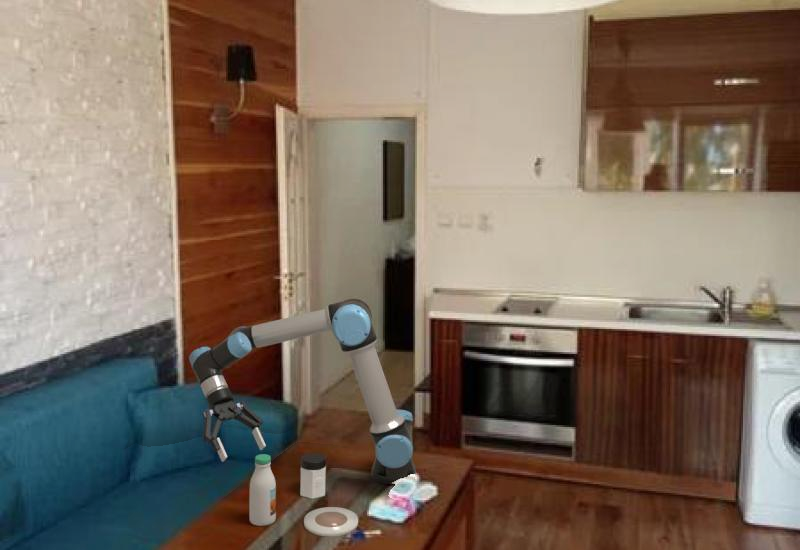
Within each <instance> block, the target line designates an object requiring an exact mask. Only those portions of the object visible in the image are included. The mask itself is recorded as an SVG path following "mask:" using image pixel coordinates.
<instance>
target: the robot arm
mask: <svg viewBox="0 0 800 550" xmlns="http://www.w3.org/2000/svg"><path fill="white" fill-rule="evenodd" d="M372 319H373V316H372V311H371V308H370V306H369V305H368V304H367V303H366V302H365V301H363V300H361V299H359V298H348V299H347V298H346V299H345V300H344V299H343V300H342V301H338V302H334V303H332V304H327V305H326V307H325V308H323V309H319V310H315V311H310V312H305V313H302V314H297V315H293V316H290V317H286V318H285V317H284V318H281V319H277V320H272V321H267V322H263V323H260V324H259V323H258V324H254V325H252V326H239V327H237V328H234V330H232V331H231V333H230V334H229V335H228V336H227V337H226V338H225V339H224V340H223V341H221V342H220V343H219V344H217V345H216V346H214V347H213V348H211V347H210V346H201V347H199V348H196V349H194V350H193V351H192V352H191V353H190V354H189V357H188V358H189V359H188V360H189V363H190V365H191V369H192V371H193V372H194V375H195V378H196V379H197V382H198V383H199V386H200V388H201V390H202V393H203V395H204V397H205V398H206V402H207V405H208V406H209V408H210V409H209V408H206V409H205V410H204V412H203V413H202V416H203V419H204V422H203V432H202V433H203V434H202V435H203V437H202V441H203V442H204V443H206V442H207V443H209V444H211V446H212V448H213V451H215V452H217V454H218V456H219V458H220V461H221V462H224V461H226V459H227V458H228V455H227V452H226V450H225V447H224V445H223V443H222V441H221V439H220V437H217V436H218V433H219V430H220V427H221V424H222V422H226V421H232V420H236V421H238V422H240V423H242V424H243V425H245V426H246V427H248V428H250V429H251V430H252V431H251V432H252V435H253V438H254V440H255V442H256V443H257V447H258V448H259V450H260V451H262V450H264V449H265V447H267V445H266V443H265V441H264V438H263V437H264V433H263V432H262V429H261V426H262V425H263V424H264V420H263V419H261V417H260V416H258V415H257V414H256V413H255V412H254V411H253V410H252V409H251V408H249V406H247V404H246V402H245V401H244V400H241V401H240V402H238V403H236V402H235V401H234V397H233V394H232V392H231V390H230V389H229V386H228V384H227V382H226V379H225V376H224V375H223V373H222V371H223V370H225V369H226V368H228V367H230V366H231V365H233V364H234V363H236V362H238V361H239V360H240V359H243V358H244V357H245V356H247V355H248V354H249V353H250V352H251V351H252V350H254V349H258V348H263V347H268V346H272V345H276V344H280V343H285V342H289V341H293V340H298V339H302V338H306V337H310V336H315V335H320V334H324V333H328V332H332V333H333V335H334V338H335V339H336V340H337V342H338V344H339V345H340V348H341V351H342V353H344V354H347V356H348V357H349V360H350V362H351V365H352V369H353V372H354V374H355V378H356V380H357V383H358V386H359V388H360V392H361V394H362V398H363V399H364V400H363V401H364V403H365V407H366V408H367V412H368V415H369V417H370V422H371V426H370V427H369V431H370V435H371V438H372V441H373V444H374V447H375V449H374V450H375V451H374V453H375V457H374V461H373V463H372V467H371V472H370V474H371V475H370V476H371V478H372V480H374V481H375V482H376V483H379V484H383V485H387V484H391V483H392V482H394V481H396V480H398V479H400V478H404V477H407V476H408V475H410V474H416V467H415V463H414V460H413V457H412V456H413V453H414V445H413V421H414V419H413V414H412V412H411V411H408V410H406V409H405V410H404V409H397V408H396V405H395V401H394V399H393V397H392V394H391V390H390V387H389V385H388V382H387V379H386V376H385V374H384V371H383V367H382V365H381V361H380V359H379V355H378V353H377V350H376V347H375V345H376V343H377V341H378V337H377V335H376V332H375V328H374V325H373V322H372ZM212 416H213V417H215V421H214V425H213V428H212V430H211V424H212V423H211V422H212ZM416 475H417V474H416Z"/></svg>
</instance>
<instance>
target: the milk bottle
mask: <svg viewBox="0 0 800 550" xmlns="http://www.w3.org/2000/svg"><path fill="white" fill-rule="evenodd" d="M271 461H272V457H271V456H270V454H268V453H267V454H265V453H261V454H257V455H256V456H255V457H254V465H255V469H254V470H253V471H254V472H253V474H252V476H251V477H250V481H249V510H248V511H249V513H248V514H249V522H250V523H251V524H252V525H254V526H259V527H263V526H264V527H266V526H269V525H272V524H273V523H274V522H275V521H276V519H277V518H276V517H277V485H276V482H277V481H276V478H275V475H274V473H273V471H272V469H271V463H272V462H271Z"/></svg>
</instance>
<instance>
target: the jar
mask: <svg viewBox="0 0 800 550" xmlns="http://www.w3.org/2000/svg"><path fill="white" fill-rule="evenodd" d="M326 476H327V456H326V455H324V454H322V453H319V452H309V453H305V454H303V455H302V456H301V457H300V488H299V490H300V492H299V494H300V496H301V497H304V498H308V499H311V500H312V499H313V500H314V499H318V498H322V497H325V496H326V484H327V483H326V480H327V477H326Z"/></svg>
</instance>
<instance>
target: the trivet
mask: <svg viewBox="0 0 800 550" xmlns="http://www.w3.org/2000/svg"><path fill="white" fill-rule="evenodd" d="M303 526H304V528H305V530H306V531H308V532H309V533H311V534H314V535H317V536H320V537H330V538H331V537H333V538H334V537H340V536H344V535H348V534H350V533H352V532H353V530H354V531H355V530H356V529H357V528H358V526H359V517H358V515H357V514H356V513H355V512H354V511H352V510H350V509H347V508H344V507H339V506H337V507H336V506H328V507H319V508H317V509H313V510H311V511H309V512H307V514H306V515H305V516H304V519H303ZM351 531H352V532H351Z"/></svg>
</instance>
